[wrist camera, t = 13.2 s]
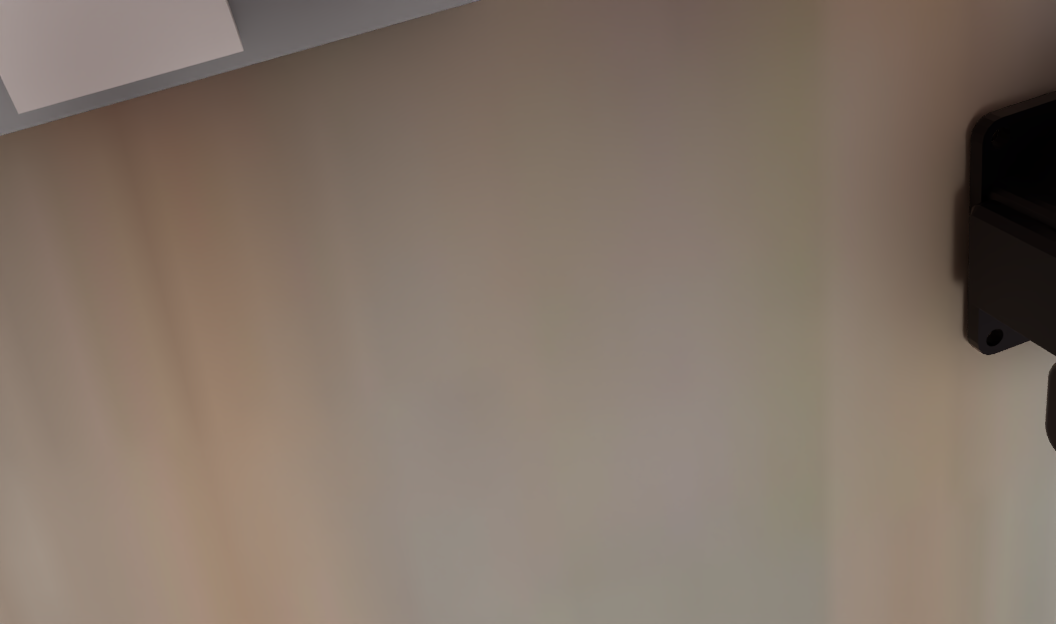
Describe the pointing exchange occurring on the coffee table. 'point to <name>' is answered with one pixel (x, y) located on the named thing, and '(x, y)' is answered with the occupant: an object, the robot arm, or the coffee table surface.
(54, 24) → the rail plate
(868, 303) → the coffee table surface
